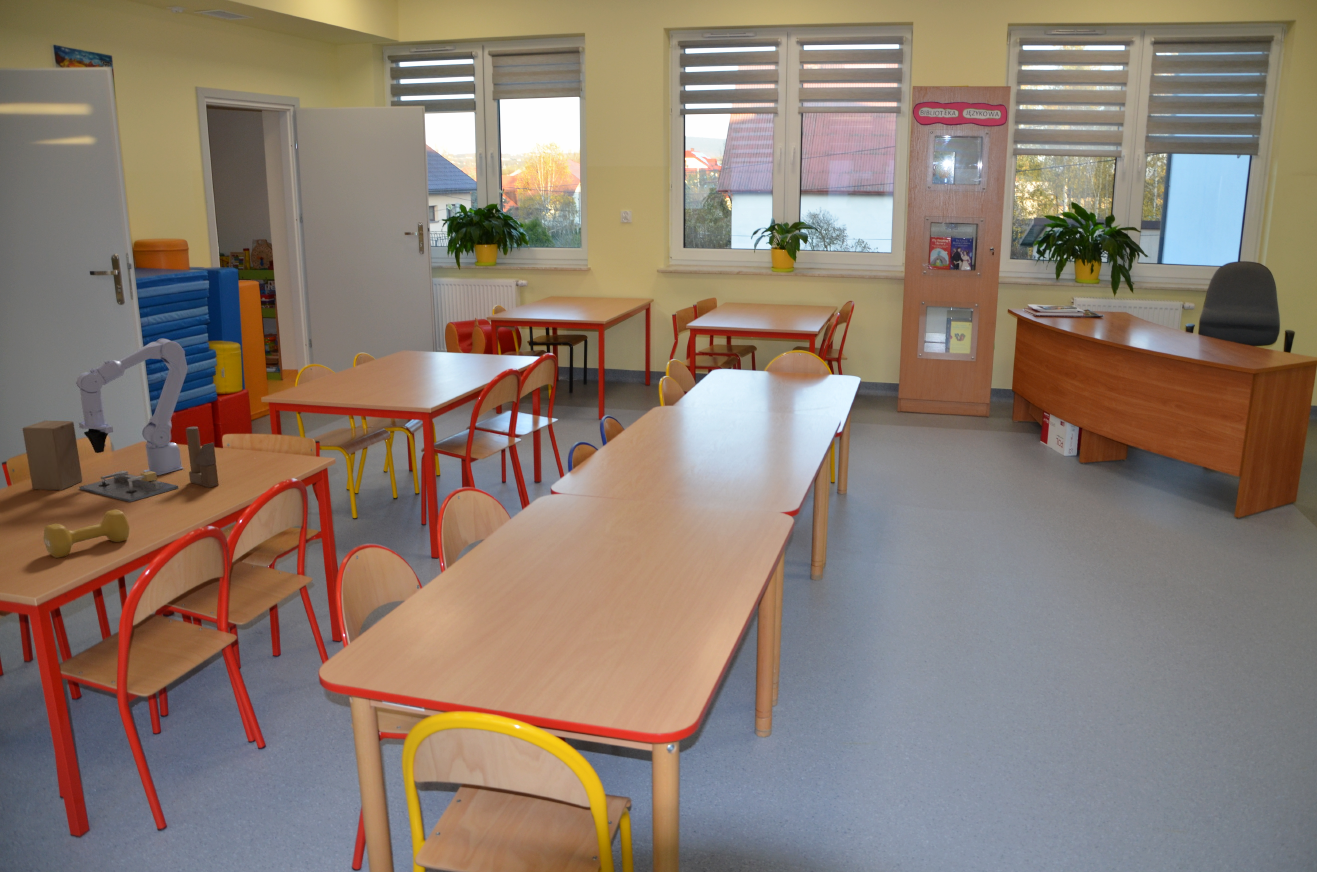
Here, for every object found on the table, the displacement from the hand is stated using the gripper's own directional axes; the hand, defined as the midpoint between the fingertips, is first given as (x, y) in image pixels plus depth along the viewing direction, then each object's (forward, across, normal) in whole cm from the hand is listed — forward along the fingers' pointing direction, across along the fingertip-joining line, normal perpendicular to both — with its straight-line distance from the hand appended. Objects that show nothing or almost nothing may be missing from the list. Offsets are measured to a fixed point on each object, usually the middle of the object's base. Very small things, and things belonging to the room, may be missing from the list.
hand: (99, 452), depth 308 cm
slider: (+8, +20, 0) cm, 22 cm away
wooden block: (+10, -9, -9) cm, 16 cm away
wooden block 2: (+10, +30, +14) cm, 35 cm away
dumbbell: (+10, +53, -37) cm, 66 cm away
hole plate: (+10, +14, -1) cm, 17 cm away
